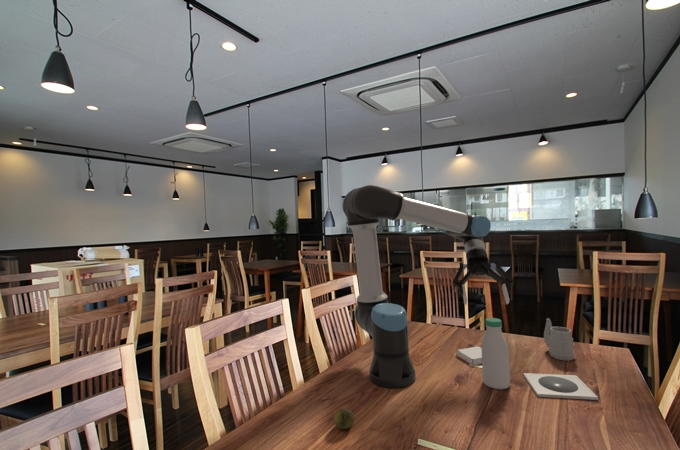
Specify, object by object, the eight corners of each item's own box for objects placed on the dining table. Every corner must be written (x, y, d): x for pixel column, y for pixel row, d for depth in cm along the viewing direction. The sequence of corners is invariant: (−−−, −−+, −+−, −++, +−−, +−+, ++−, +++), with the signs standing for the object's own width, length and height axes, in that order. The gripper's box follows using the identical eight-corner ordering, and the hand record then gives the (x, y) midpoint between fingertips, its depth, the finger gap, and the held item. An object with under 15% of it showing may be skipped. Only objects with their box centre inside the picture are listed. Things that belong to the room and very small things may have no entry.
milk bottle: (515, 389, 101) (512, 322, 100) (489, 390, 101) (485, 324, 100) (503, 377, 108) (500, 315, 108) (479, 378, 108) (475, 316, 108)
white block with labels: (448, 351, 132) (448, 344, 132) (473, 346, 135) (473, 340, 135) (483, 373, 113) (482, 365, 113) (511, 367, 116) (511, 359, 116)
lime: (332, 427, 87) (331, 408, 87) (347, 420, 90) (346, 402, 90) (342, 436, 83) (341, 416, 83) (358, 428, 86) (357, 409, 86)
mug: (560, 362, 117) (559, 327, 117) (536, 349, 128) (534, 318, 128) (580, 359, 118) (578, 325, 118) (554, 347, 129) (553, 316, 129)
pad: (537, 396, 96) (537, 393, 96) (523, 375, 109) (523, 372, 109) (598, 400, 93) (597, 396, 93) (576, 377, 105) (576, 375, 105)
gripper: (509, 258, 131) (524, 307, 116) (442, 260, 136) (448, 308, 121) (512, 246, 125) (528, 295, 111) (442, 249, 131) (449, 296, 116)
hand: (486, 302), depth 116 cm, fingers open, 13 cm apart
